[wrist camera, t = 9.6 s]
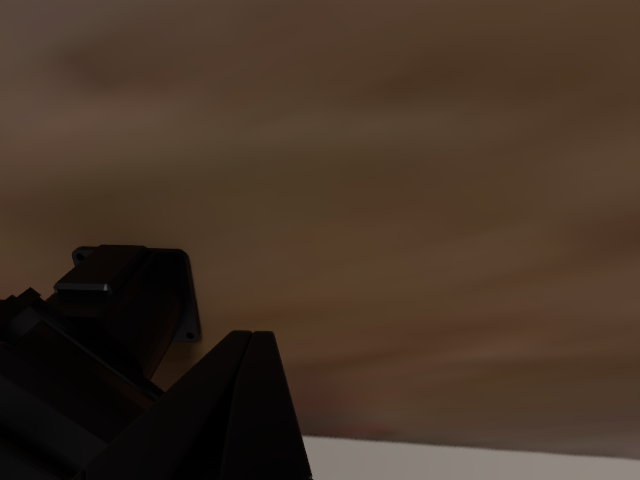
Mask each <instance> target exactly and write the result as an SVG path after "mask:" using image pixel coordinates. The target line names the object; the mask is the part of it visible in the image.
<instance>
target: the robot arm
mask: <svg viewBox="0 0 640 480" xmlns="http://www.w3.org/2000/svg"><path fill="white" fill-rule="evenodd" d="M81 254H82V255H84V257H85V258H84V257H82V256H81ZM174 256H178V257H179V258H180V259H181V260H177V259H176V258H175V257H174ZM72 259H73V262H74V265H75V267H74V268H73V269H72V270H71V271H69V272H68V273H67V274H66V275H65V276H63V277H62V278H61V279H60V280H59V281H58V282H57V283H56V284H55V285H54V286H53V288H54V291H55V293H53V294H52V295H51V296H50V297H49V298H48V299H47V300H45V301H44V300H43V299H41V298H40V296H41V295H40V294H39V293H38V292H36V291H35V290H34V289H32V288H31V287H30V288H29V289H27V290H26V291H25V292H23V293H22V294H20V295H19V296H18V297H15V296H14V295H11V296H10V297H8V298H7V299H5V300H0V480H313V479H312V473H311V469H310V465H309V462H308V458H307V454H306V451H305V447H304V443H303V439H302V436H301V432H300V428H299V424H298V421H297V417H296V413H295V410H294V406H293V402H292V398H291V395H290V391H289V387H288V383H287V380H286V376H285V372H284V369H283V365H282V361H281V357H280V354H279V350H278V346H277V343H276V339H275V335H274V333H273V332H272V331H255V332H253V333H252V332H251V331H247V330H234V331H231V332H230V333H229V334H228V335H227V336H226V337H224V338H223V339H222V340H221V341H220V342H219V343H218V344H217V345H216V346H215V347H214V348H213V349H212V350H210V351H209V352H208V353H207V354H206V355H205V356H204V357H203V358H202V359H201V360H200V361H199V362H197V363H196V364H195V365H194V366H193V367H192V368H191V369H190V370H189V371H188V372H187V373H186V374H184V375H183V376H182V377H181V378H180V379H179V380H178V381H177V382H176V383H175V384H174V385H173V386H171V387H170V388H169V389H168V390H167V391H166V392H164V391H163V390H162V389H160V388H159V387H158V386H156V385H155V384H154V383H152V382H151V381H150V380H151V378H152V376H153V375H154V373H155V371H156V369H157V367H158V366H159V364H160V362H161V360H162V358H163V357H164V355H165V353H166V351H167V349H168V348H169V346H170V344H171V342H172V341H181V342H194V341H196V340H197V339H198V337H199V335H200V327H199V322H198V316H197V310H196V304H195V298H194V292H193V286H192V280H191V274H190V268H189V262H188V257H187V254H186V253H185V252H184V251H183V250H181V249H163V248H147V247H145V246H135V245H100V246H99V247H87V246H82V247H78V248H77V249H76V250H74V251H73V252H72ZM190 333H193V334H194V335H192V334H190Z"/></svg>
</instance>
